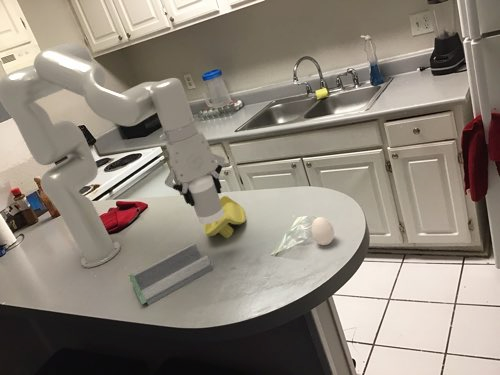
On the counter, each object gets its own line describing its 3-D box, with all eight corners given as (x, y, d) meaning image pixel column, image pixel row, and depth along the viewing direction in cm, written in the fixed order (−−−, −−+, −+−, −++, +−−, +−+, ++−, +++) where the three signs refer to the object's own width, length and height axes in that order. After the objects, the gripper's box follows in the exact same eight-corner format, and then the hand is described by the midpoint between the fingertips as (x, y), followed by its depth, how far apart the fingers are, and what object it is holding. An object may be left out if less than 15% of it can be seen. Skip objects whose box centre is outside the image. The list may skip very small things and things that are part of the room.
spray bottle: (195, 226, 109) (171, 161, 102) (203, 212, 115) (181, 150, 108) (220, 222, 107) (197, 156, 100) (227, 209, 113) (206, 145, 106)
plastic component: (204, 213, 137) (227, 192, 136) (221, 228, 139) (243, 207, 138) (203, 239, 118) (229, 214, 117) (222, 256, 120) (248, 232, 119)
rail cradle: (133, 286, 115) (128, 275, 113) (197, 252, 121) (193, 241, 119) (143, 307, 104) (138, 296, 103) (213, 269, 110) (208, 257, 109)
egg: (332, 250, 102) (325, 224, 99) (312, 249, 104) (304, 224, 102) (339, 237, 106) (332, 211, 103) (319, 237, 108) (312, 212, 106)
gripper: (151, 149, 95) (178, 217, 103) (220, 121, 101) (241, 187, 108) (143, 143, 102) (169, 208, 109) (208, 117, 107) (229, 180, 115)
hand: (204, 197), depth 108 cm, fingers closed on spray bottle, 6 cm apart
